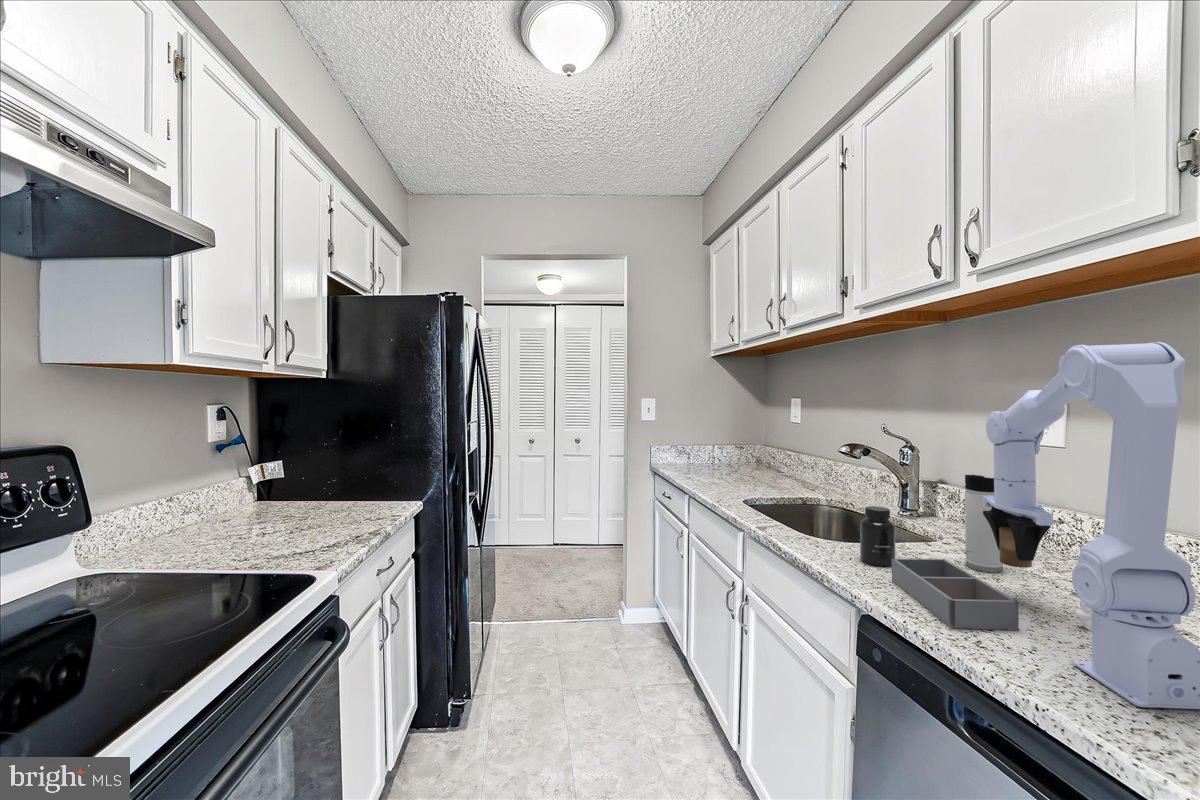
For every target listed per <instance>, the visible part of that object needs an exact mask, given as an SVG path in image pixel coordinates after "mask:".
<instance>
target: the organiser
mask: <svg viewBox="0 0 1200 800" xmlns="http://www.w3.org/2000/svg"><path fill="white" fill-rule="evenodd" d="M891 581H892V582H893V583H894V584H895V583H896V584H895V585H897V586H898V587H899V588H900V587H901V588H900V589H902V590H903V592H905V591H906V592H905V593H907V594H908V595H909V594H910V595H911V596H912V598H913V599H914V600H915V599H916V600H917V603H919V604H920V603H921V604H922V605H921V606H923V607H924V608H925V607H926V608H927V609H926V608H925V609H926V610H928V611H929V612H930V611H931V612H932V613H931V612H930V613H931V614H932V615H934V616H935V617H937V619H939V620H942V621H941V622H943V623H944V624H945V625H946V626H947V627H948V628H950V629H953V628H966V629H965V630H994V629H1012V630H1011V631H1019V630H1020V623H1019V621H1020V620H1019V619H1020V617H1019V615H1020V612H1019V611H1020V610H1019V609H1020V608H1019V606H1020V605H1019V604H1020V603H1019V601H1018V600H1016V599H1015V598H1013V597H1011V596H1009V595H1007V594H1005V593H1004V592H1002V591H1001V590H999V589H998V588H996V587H994V586H992V585H990V584H988V583H987V582H986V581H983V580H982V579H980V578H978V577H977V576H975V575H973V574H972V573H970V572H969V571H967V570H964V569H962V568H961V567H960V566H958V565H956V564H954V563H952V562H951V561H949V560H947V559H945V558H895V559H892V566H891ZM910 595H909V596H910ZM911 596H910V597H911ZM916 600H915V601H916ZM967 628H969V629H967ZM971 628H972V629H971Z"/></svg>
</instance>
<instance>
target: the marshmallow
mask: <svg viewBox="0 0 1200 800" xmlns="http://www.w3.org/2000/svg"><path fill="white" fill-rule="evenodd" d="M1079 606H1080V608H1077V609H1074V611H1073V614H1074V615H1075V616H1076V617H1077V618H1078V619H1079V623H1080V624H1081V625H1082V627H1083V628H1084V629H1086V630H1087V629H1091V630H1090V631H1092V609H1090V608H1089V607H1087V606H1086V605H1085V604H1084V603H1083V602H1082V601H1081V600H1080V602H1079Z"/></svg>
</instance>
